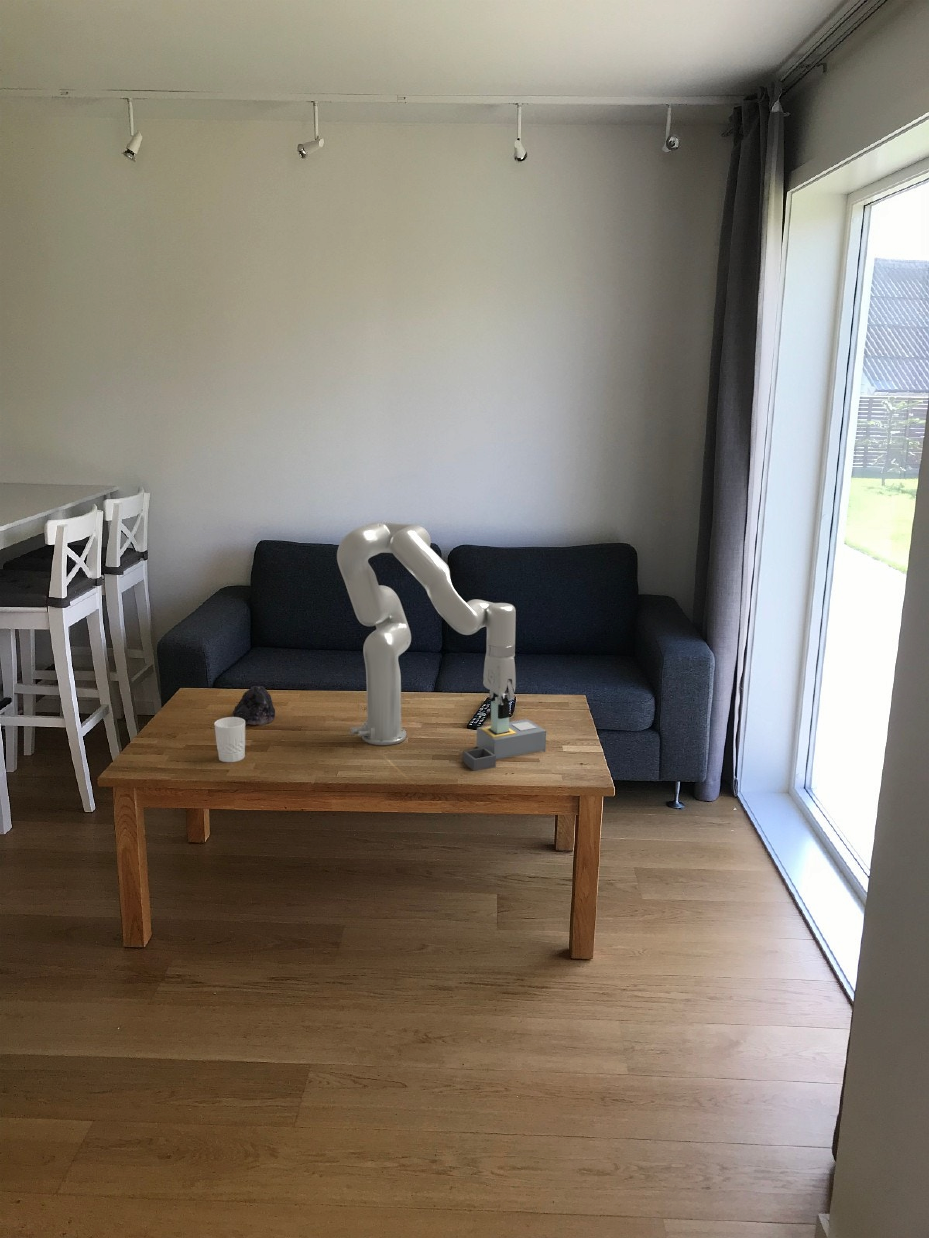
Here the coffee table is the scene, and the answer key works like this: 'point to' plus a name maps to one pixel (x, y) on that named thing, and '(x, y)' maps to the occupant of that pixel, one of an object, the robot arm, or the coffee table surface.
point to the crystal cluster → (255, 706)
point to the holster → (479, 759)
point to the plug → (497, 723)
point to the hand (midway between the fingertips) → (499, 714)
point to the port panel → (513, 739)
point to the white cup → (230, 739)
